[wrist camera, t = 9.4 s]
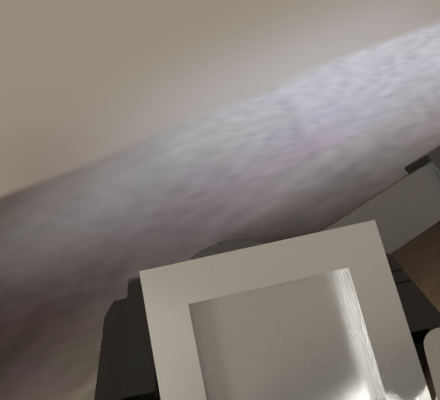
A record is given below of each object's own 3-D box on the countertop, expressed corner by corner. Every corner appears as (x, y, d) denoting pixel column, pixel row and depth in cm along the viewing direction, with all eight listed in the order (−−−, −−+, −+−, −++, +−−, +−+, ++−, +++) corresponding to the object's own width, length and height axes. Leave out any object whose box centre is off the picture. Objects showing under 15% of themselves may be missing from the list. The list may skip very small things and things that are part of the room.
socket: (178, 278, 16) (139, 271, 7) (283, 255, 17) (374, 219, 7) (200, 394, 15) (187, 560, 6) (311, 366, 16) (458, 484, 6)
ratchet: (215, 421, 17) (217, 483, 12) (142, 291, 19) (115, 295, 13) (573, 172, 21) (701, 133, 15) (491, 75, 22) (583, 8, 16)
